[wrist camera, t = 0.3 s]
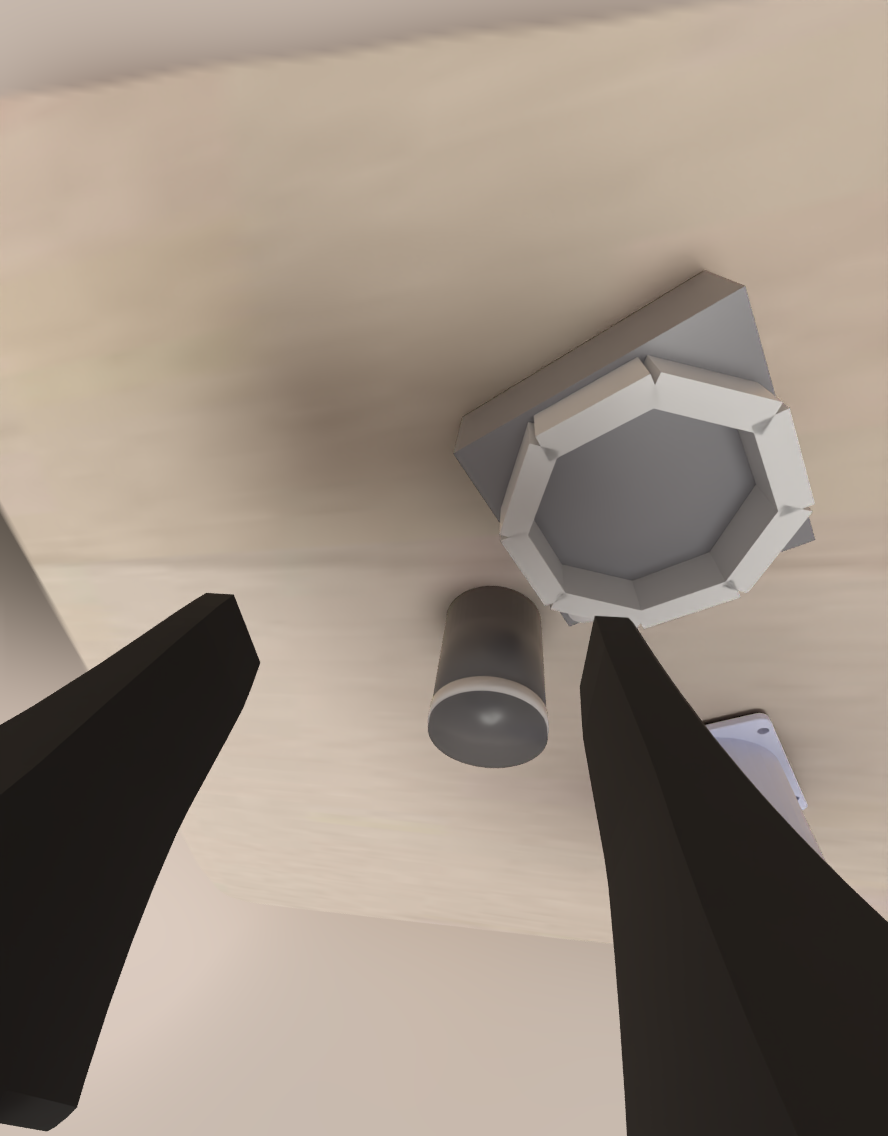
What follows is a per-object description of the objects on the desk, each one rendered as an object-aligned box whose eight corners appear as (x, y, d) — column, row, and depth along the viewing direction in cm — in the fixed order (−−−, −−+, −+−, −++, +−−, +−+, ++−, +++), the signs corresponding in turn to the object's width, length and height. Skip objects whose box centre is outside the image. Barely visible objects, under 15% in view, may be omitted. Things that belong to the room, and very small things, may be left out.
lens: (559, 637, 23) (570, 754, 18) (477, 665, 24) (467, 777, 20) (512, 570, 21) (510, 682, 16) (426, 607, 22) (402, 716, 18)
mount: (773, 492, 17) (841, 570, 13) (563, 576, 20) (573, 656, 17) (705, 270, 13) (772, 296, 10) (462, 417, 17) (447, 476, 13)
